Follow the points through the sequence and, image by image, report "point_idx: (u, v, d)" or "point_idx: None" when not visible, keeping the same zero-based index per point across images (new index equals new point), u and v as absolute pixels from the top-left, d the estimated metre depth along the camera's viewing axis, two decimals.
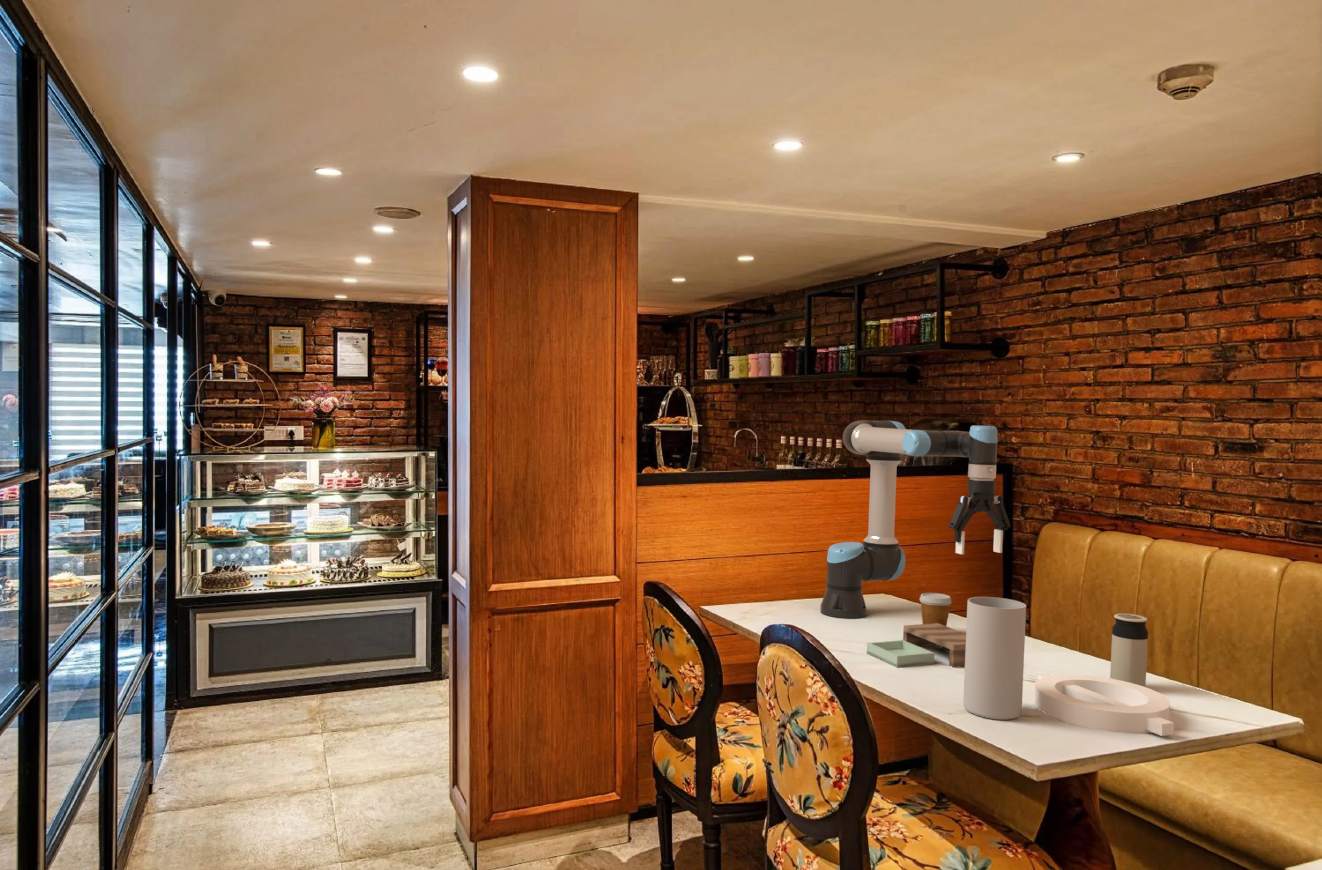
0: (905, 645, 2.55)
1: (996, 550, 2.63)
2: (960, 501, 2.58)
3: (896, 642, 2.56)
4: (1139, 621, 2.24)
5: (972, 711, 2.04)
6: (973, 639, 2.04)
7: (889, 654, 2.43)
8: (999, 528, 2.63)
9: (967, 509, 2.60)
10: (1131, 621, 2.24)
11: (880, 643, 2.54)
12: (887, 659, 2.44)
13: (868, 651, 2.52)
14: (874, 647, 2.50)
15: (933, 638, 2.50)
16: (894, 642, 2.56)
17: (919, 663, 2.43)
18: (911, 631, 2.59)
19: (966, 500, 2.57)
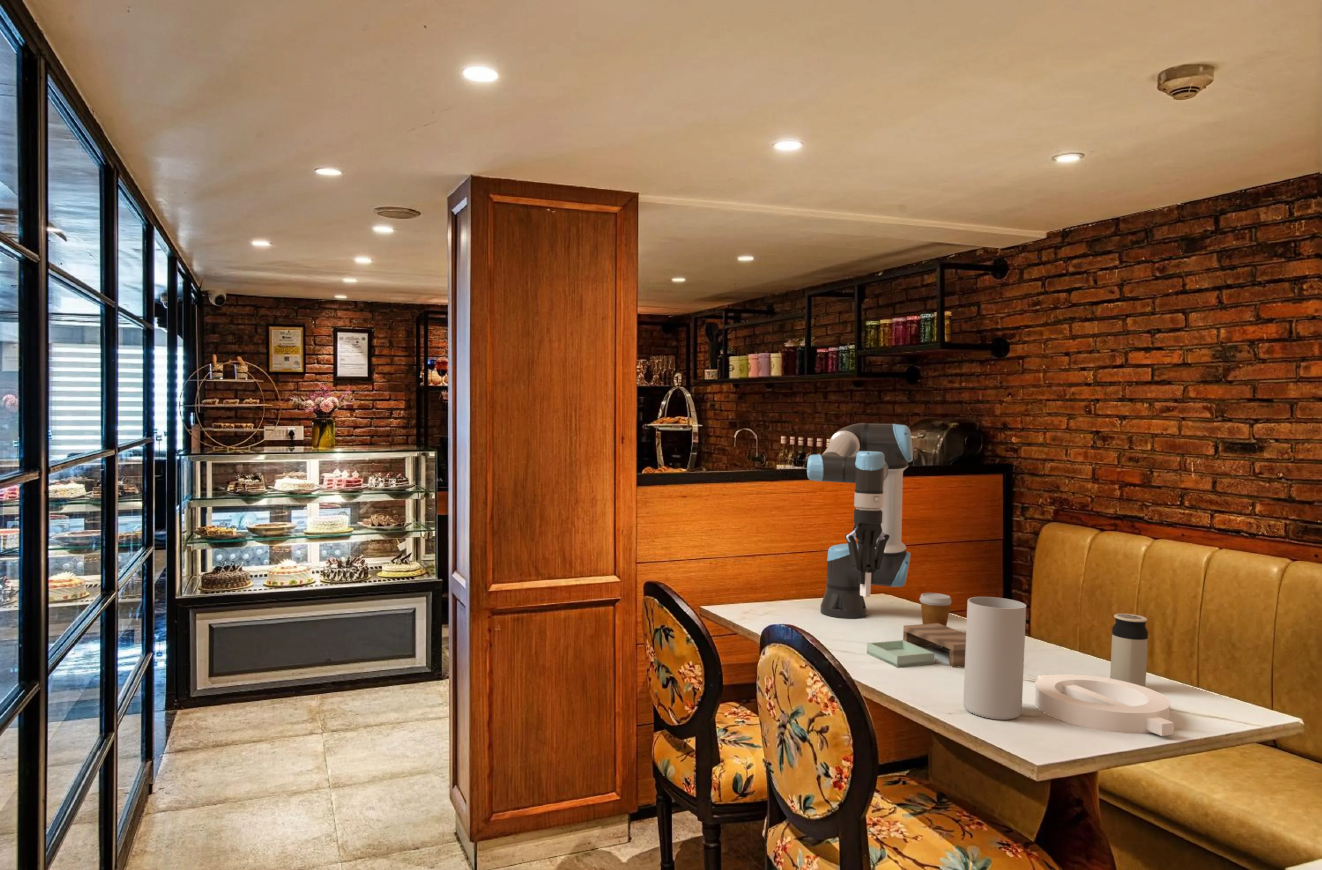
0: (905, 645, 2.55)
1: None
2: (848, 541, 2.42)
3: (896, 642, 2.56)
4: (1139, 621, 2.24)
5: (972, 711, 2.04)
6: (973, 639, 2.04)
7: (889, 654, 2.43)
8: (868, 570, 2.44)
9: (859, 545, 2.44)
10: (1131, 621, 2.24)
11: (880, 643, 2.54)
12: (887, 659, 2.44)
13: (868, 651, 2.52)
14: (874, 647, 2.50)
15: (933, 638, 2.50)
16: (894, 642, 2.56)
17: (919, 663, 2.43)
18: (911, 631, 2.59)
19: (852, 539, 2.40)
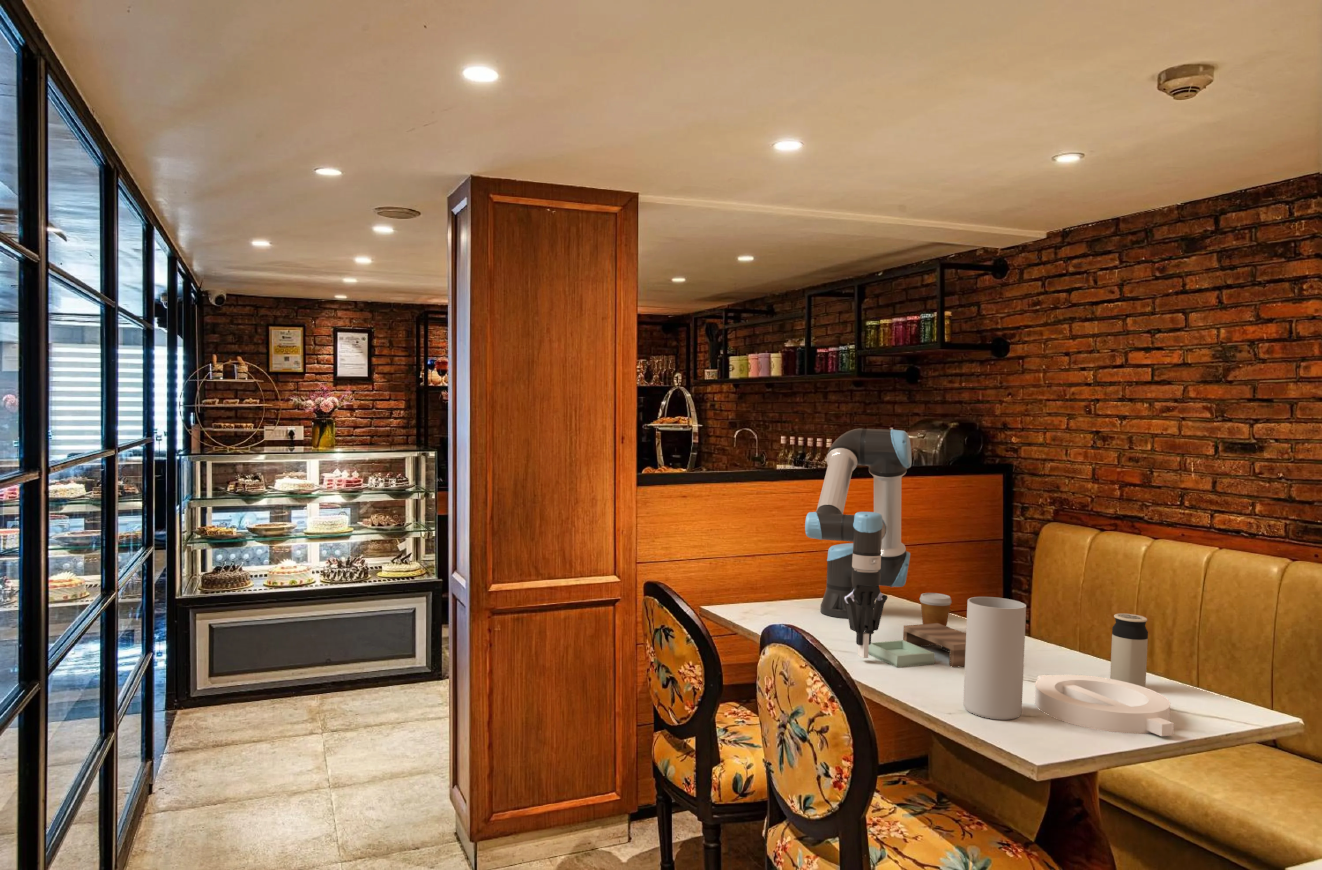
0: (905, 645, 2.55)
1: None
2: (846, 602, 2.42)
3: (896, 642, 2.56)
4: (1139, 621, 2.24)
5: (972, 711, 2.04)
6: (973, 639, 2.04)
7: (889, 654, 2.43)
8: (866, 631, 2.45)
9: (857, 606, 2.44)
10: (1131, 621, 2.24)
11: (880, 643, 2.54)
12: (887, 659, 2.44)
13: None
14: (874, 647, 2.50)
15: (933, 638, 2.50)
16: (894, 642, 2.56)
17: (919, 663, 2.43)
18: (911, 631, 2.59)
19: (850, 600, 2.41)
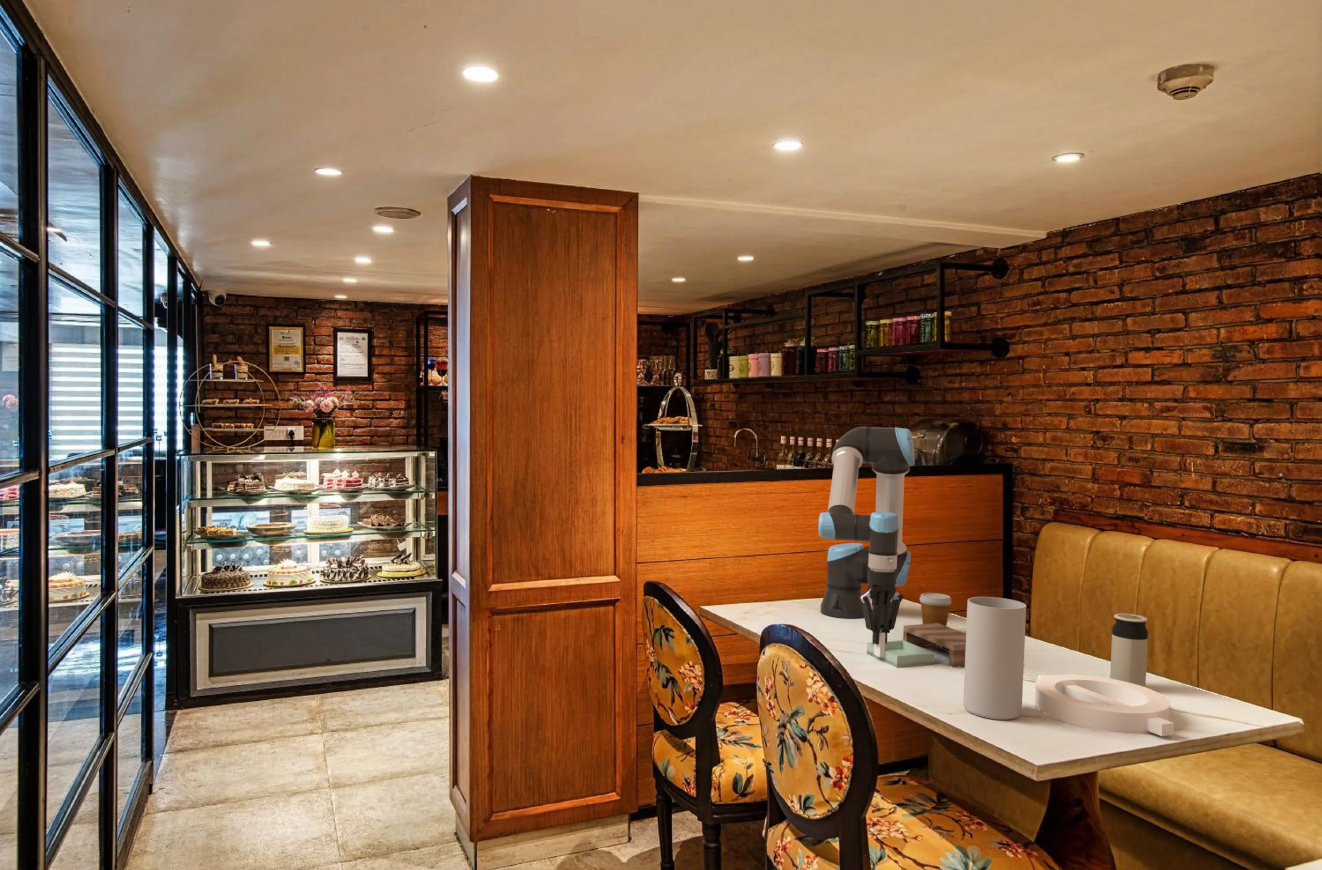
0: (905, 645, 2.55)
1: None
2: (862, 602, 2.44)
3: (896, 642, 2.56)
4: (1139, 621, 2.24)
5: (972, 711, 2.04)
6: (973, 639, 2.04)
7: (889, 654, 2.43)
8: (882, 630, 2.46)
9: (873, 605, 2.46)
10: (1131, 621, 2.24)
11: None
12: (887, 659, 2.44)
13: (868, 651, 2.52)
14: None
15: (933, 638, 2.50)
16: (894, 642, 2.56)
17: (919, 663, 2.43)
18: (911, 631, 2.59)
19: (867, 600, 2.43)
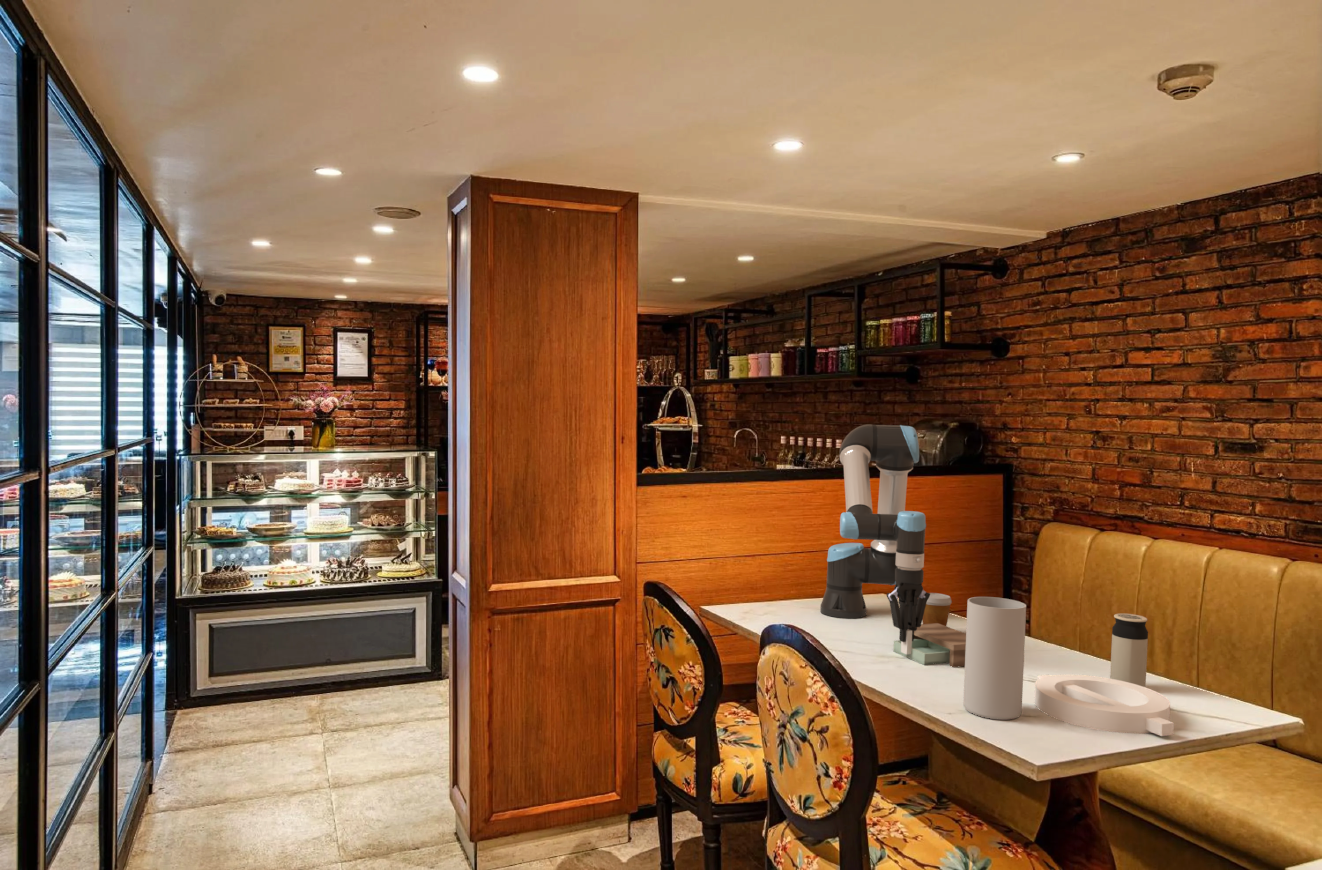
0: (931, 643, 2.58)
1: None
2: (890, 599, 2.47)
3: (922, 640, 2.59)
4: (1139, 621, 2.24)
5: (972, 711, 2.04)
6: (973, 639, 2.04)
7: (916, 652, 2.46)
8: (909, 628, 2.50)
9: (900, 603, 2.49)
10: (1131, 621, 2.24)
11: None
12: (914, 657, 2.47)
13: (895, 649, 2.55)
14: None
15: (933, 638, 2.50)
16: (920, 640, 2.58)
17: (946, 661, 2.46)
18: None
19: (894, 598, 2.46)
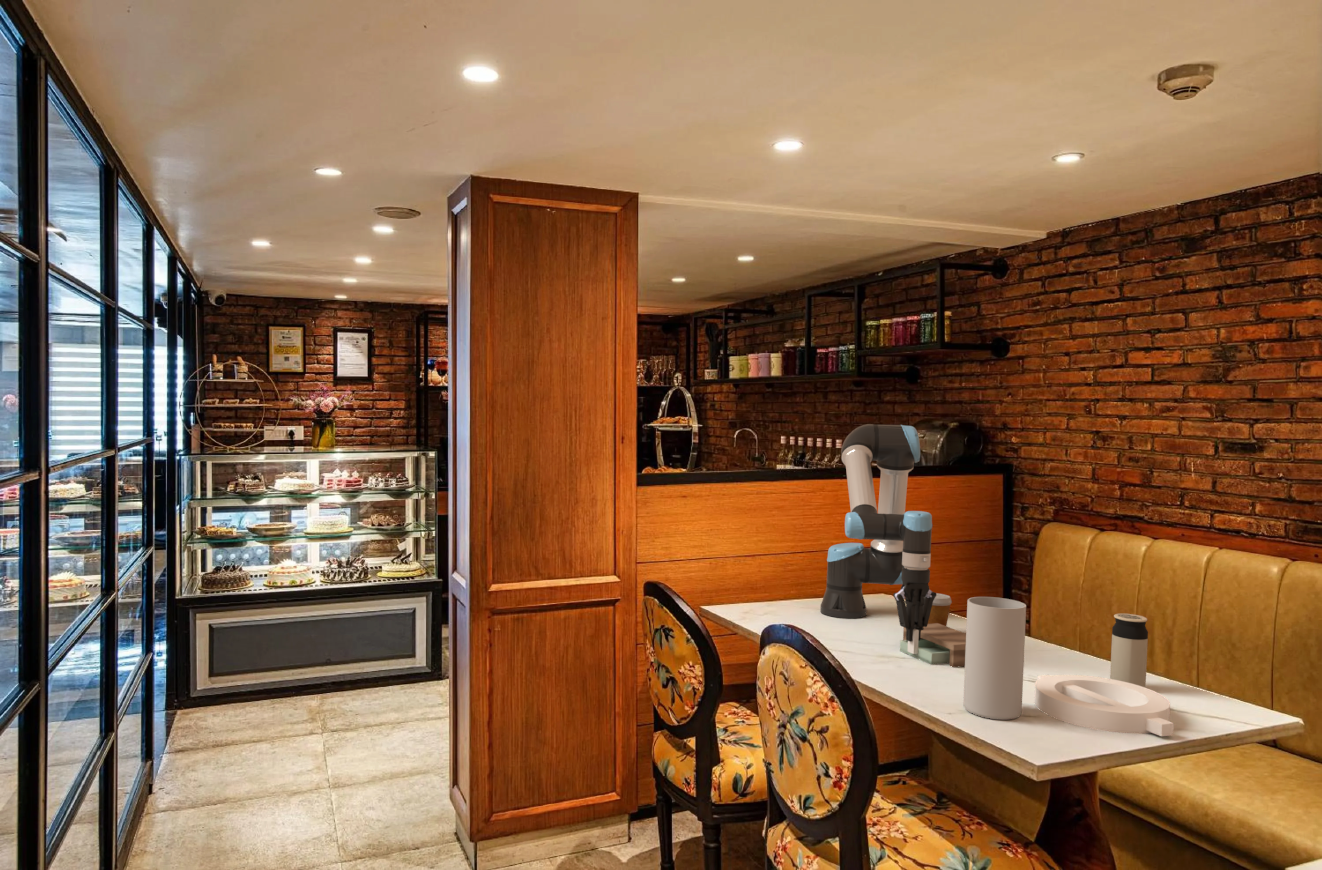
0: None
1: None
2: (896, 599, 2.48)
3: None
4: (1139, 621, 2.24)
5: (972, 711, 2.04)
6: (973, 639, 2.04)
7: (923, 652, 2.47)
8: (915, 627, 2.50)
9: (907, 603, 2.50)
10: (1131, 621, 2.24)
11: None
12: (921, 656, 2.48)
13: (901, 649, 2.56)
14: (907, 645, 2.54)
15: (933, 638, 2.50)
16: (927, 640, 2.59)
17: None
18: None
19: (901, 597, 2.47)
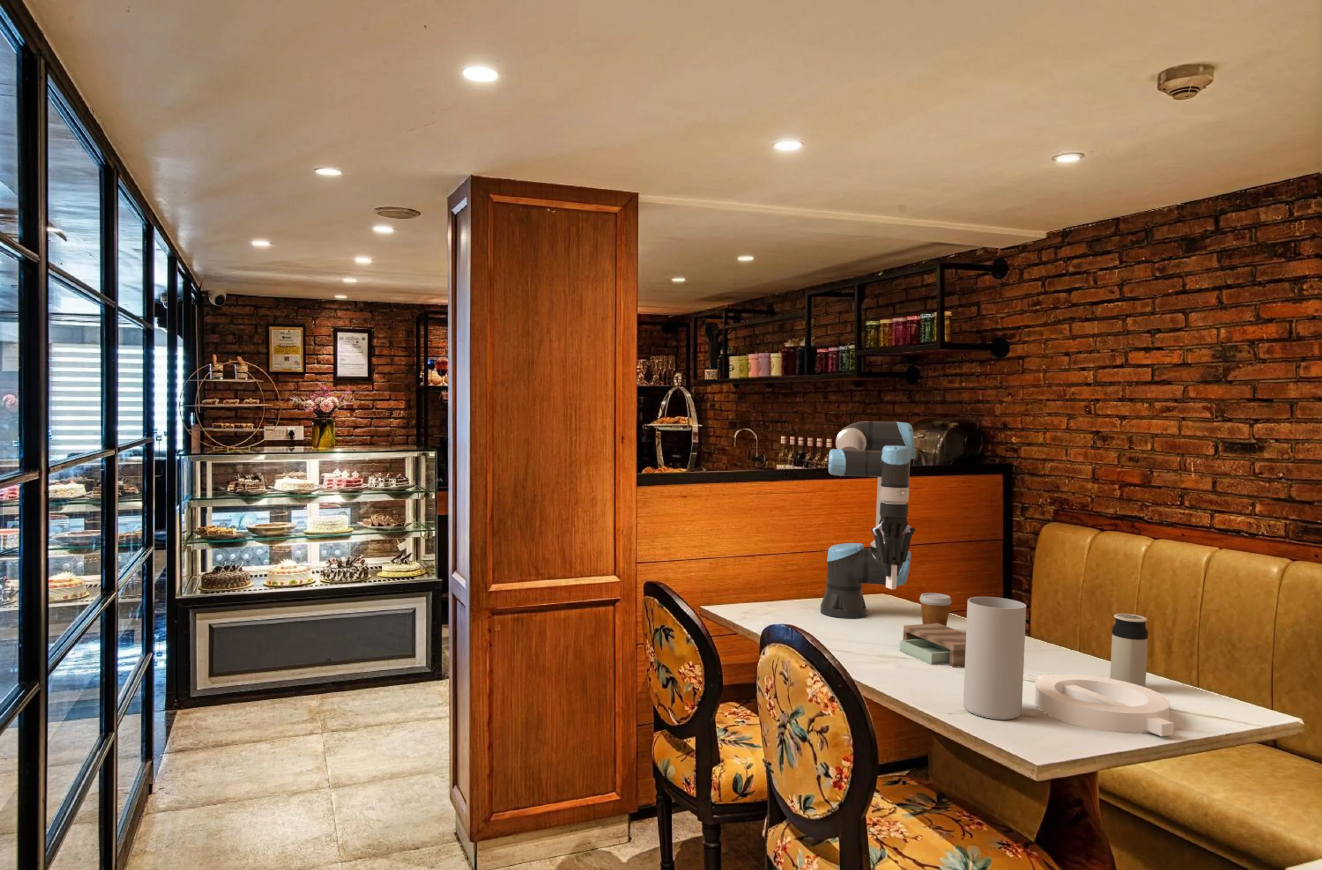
0: None
1: None
2: (874, 534, 2.46)
3: None
4: (1139, 621, 2.24)
5: (972, 711, 2.04)
6: (973, 639, 2.04)
7: (923, 652, 2.47)
8: (894, 563, 2.48)
9: (885, 538, 2.48)
10: (1131, 621, 2.24)
11: (913, 641, 2.58)
12: (921, 656, 2.48)
13: (901, 649, 2.56)
14: (907, 645, 2.54)
15: (933, 638, 2.50)
16: (927, 640, 2.59)
17: None
18: (911, 631, 2.59)
19: (879, 532, 2.44)
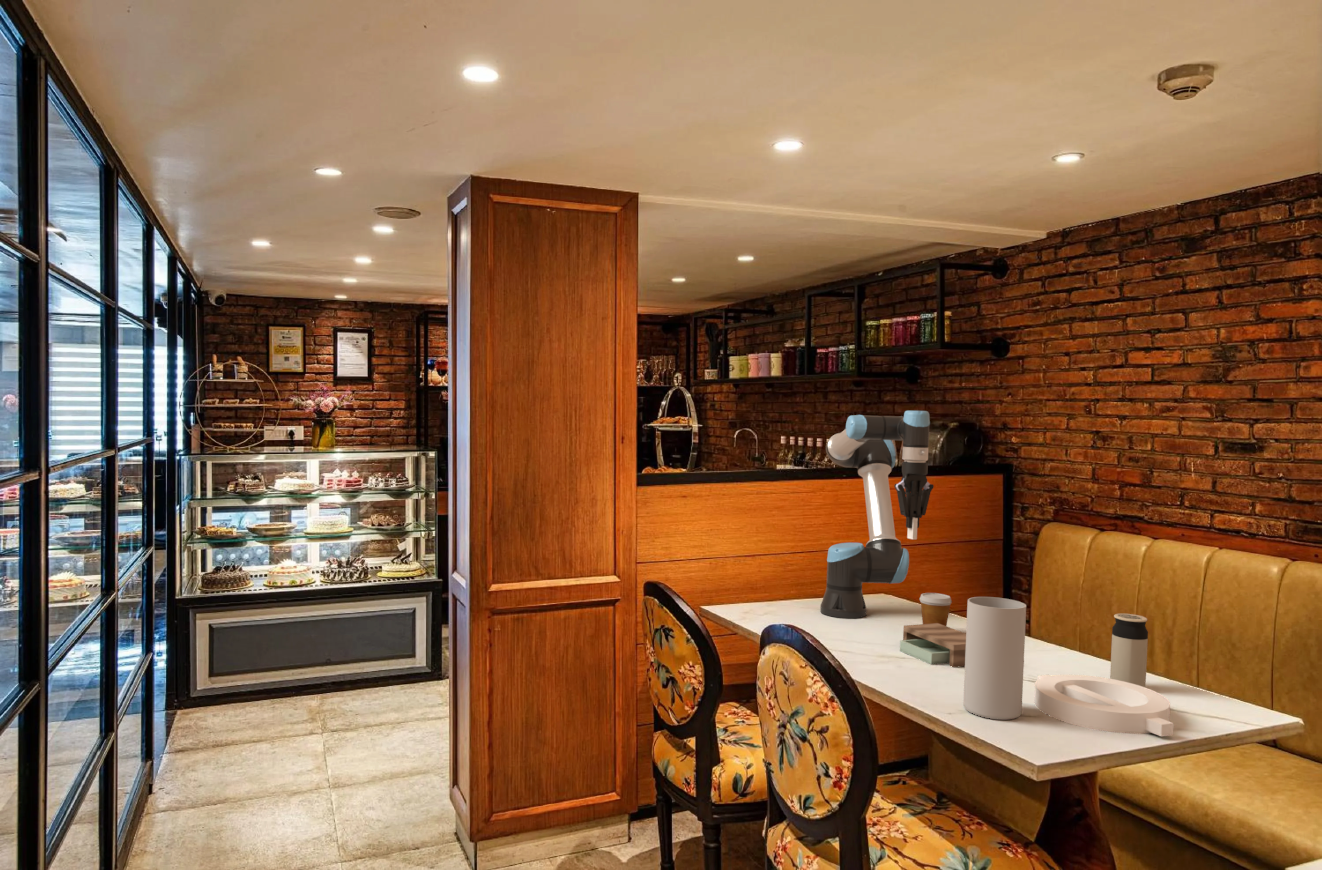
0: None
1: None
2: (897, 489, 2.73)
3: None
4: (1139, 621, 2.24)
5: (972, 711, 2.04)
6: (973, 639, 2.04)
7: (923, 652, 2.47)
8: (914, 516, 2.75)
9: (907, 493, 2.75)
10: (1131, 621, 2.24)
11: (913, 641, 2.58)
12: (921, 656, 2.48)
13: (901, 649, 2.56)
14: (907, 645, 2.54)
15: (933, 638, 2.50)
16: (927, 640, 2.59)
17: None
18: (911, 631, 2.59)
19: (901, 487, 2.72)
